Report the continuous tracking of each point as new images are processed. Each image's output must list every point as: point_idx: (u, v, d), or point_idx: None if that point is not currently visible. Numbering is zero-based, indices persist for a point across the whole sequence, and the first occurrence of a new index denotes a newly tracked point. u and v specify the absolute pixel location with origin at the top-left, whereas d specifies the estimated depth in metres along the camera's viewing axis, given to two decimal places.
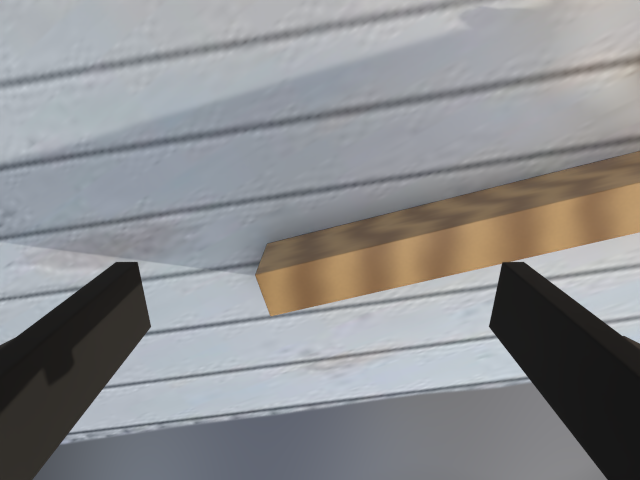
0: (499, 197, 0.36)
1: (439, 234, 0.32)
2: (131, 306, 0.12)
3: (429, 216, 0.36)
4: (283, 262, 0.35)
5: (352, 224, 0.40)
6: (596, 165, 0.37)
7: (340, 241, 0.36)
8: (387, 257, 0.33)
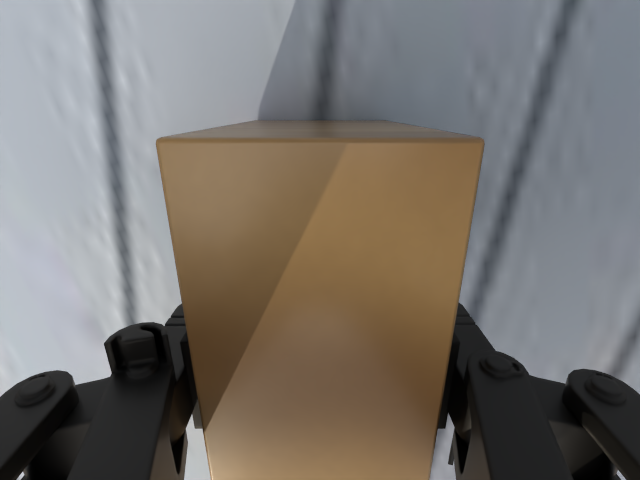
0: None
1: None
2: None
3: None
4: None
5: None
6: None
7: None
8: None
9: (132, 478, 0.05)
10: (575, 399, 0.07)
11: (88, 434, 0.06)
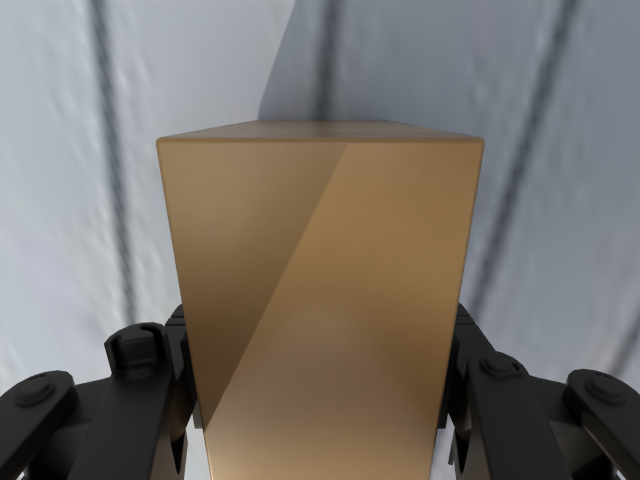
0: None
1: None
2: None
3: None
4: None
5: None
6: None
7: None
8: None
9: (132, 478, 0.05)
10: (575, 399, 0.07)
11: (89, 434, 0.06)
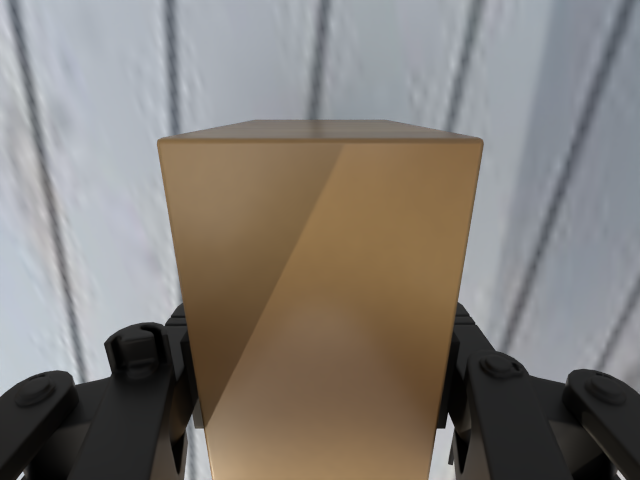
0: None
1: None
2: None
3: None
4: None
5: None
6: None
7: None
8: None
9: (132, 478, 0.05)
10: (575, 399, 0.07)
11: (89, 433, 0.06)
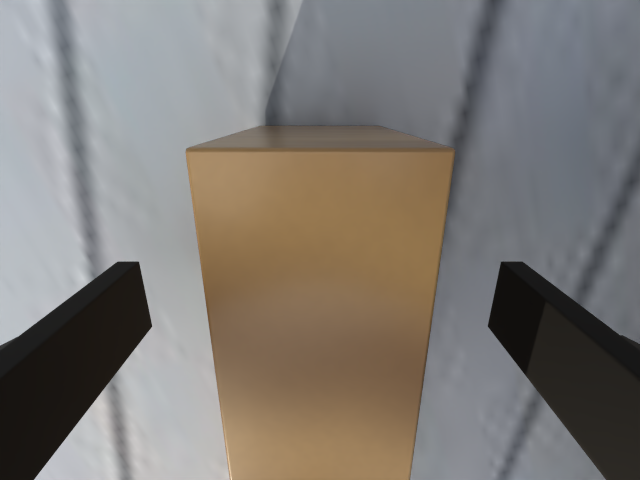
0: None
1: None
2: (132, 305, 0.12)
3: None
4: None
5: None
6: None
7: None
8: None
9: None
10: None
11: None
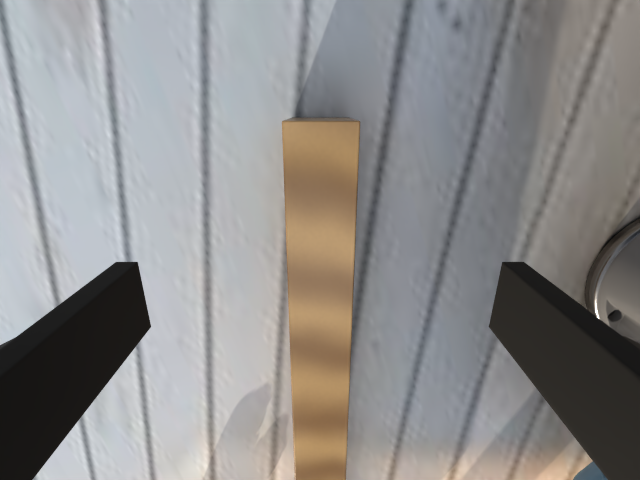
0: None
1: (346, 353, 0.28)
2: (131, 306, 0.12)
3: None
4: None
5: None
6: None
7: None
8: (333, 299, 0.27)
9: None
10: None
11: None
